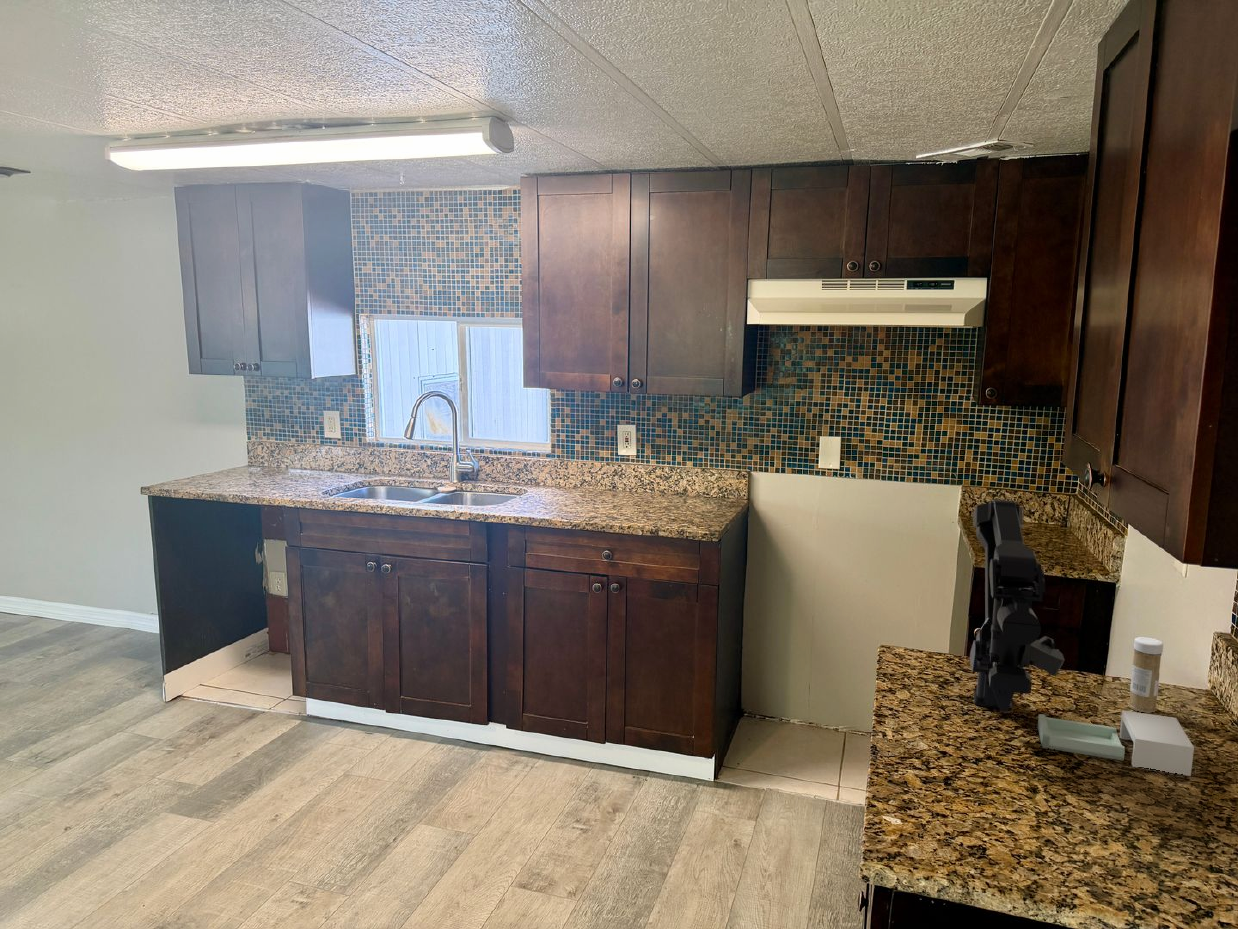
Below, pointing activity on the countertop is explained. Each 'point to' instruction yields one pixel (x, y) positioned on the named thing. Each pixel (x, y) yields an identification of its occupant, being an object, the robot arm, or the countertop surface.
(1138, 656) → the sprinkles bottle
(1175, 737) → the low shelf
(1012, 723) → the countertop surface
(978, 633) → the robot arm
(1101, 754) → the tray shell
